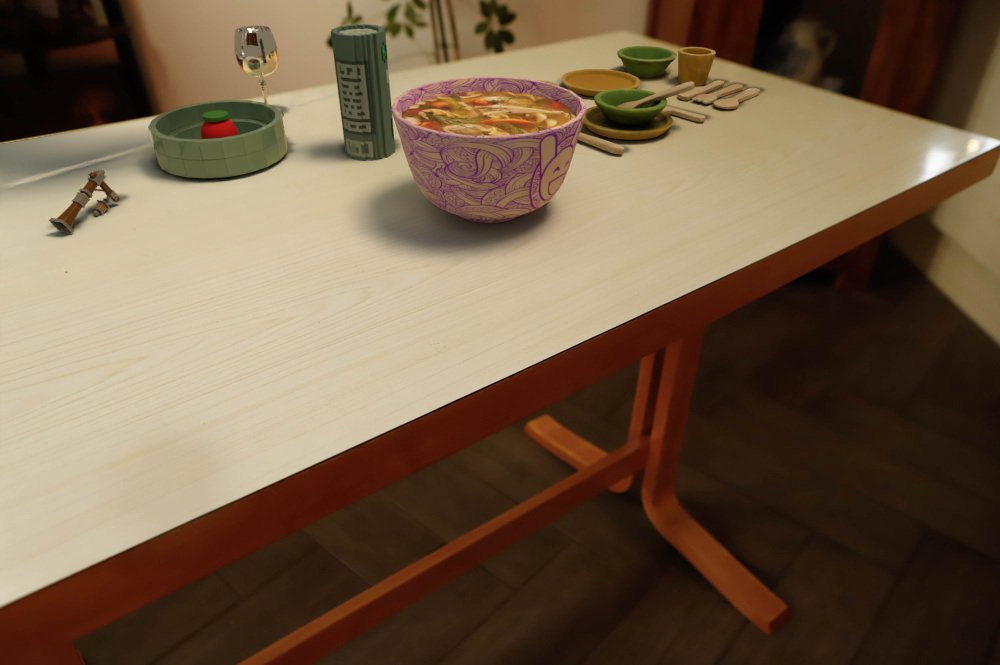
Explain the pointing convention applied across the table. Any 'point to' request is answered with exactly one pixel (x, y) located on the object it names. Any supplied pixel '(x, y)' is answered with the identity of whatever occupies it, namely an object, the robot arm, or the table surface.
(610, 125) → the tableware set
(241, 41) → the wineglass
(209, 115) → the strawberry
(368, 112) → the can
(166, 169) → the bowl
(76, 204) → the wooden post with brackets
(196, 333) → the table surface
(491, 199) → the bowl of food
